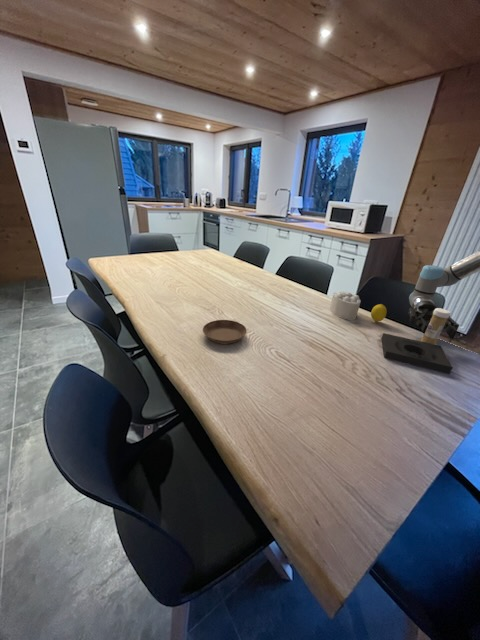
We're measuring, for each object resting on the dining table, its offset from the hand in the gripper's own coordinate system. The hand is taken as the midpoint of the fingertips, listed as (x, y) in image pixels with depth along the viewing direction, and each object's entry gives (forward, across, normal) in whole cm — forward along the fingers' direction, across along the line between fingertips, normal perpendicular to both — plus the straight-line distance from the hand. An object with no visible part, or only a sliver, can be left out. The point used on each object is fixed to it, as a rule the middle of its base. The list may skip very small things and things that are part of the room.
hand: (439, 332), depth 89 cm
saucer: (+27, +67, -7) cm, 73 cm away
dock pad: (+7, +7, -7) cm, 12 cm away
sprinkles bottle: (-5, 0, -7) cm, 9 cm away
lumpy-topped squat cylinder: (-18, +30, -7) cm, 36 cm away
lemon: (-16, +17, -7) cm, 24 cm away
